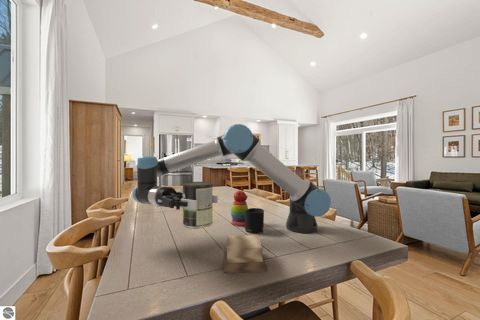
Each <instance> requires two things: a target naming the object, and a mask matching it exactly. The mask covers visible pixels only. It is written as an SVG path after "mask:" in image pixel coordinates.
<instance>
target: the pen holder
mask: <svg viewBox="0 0 480 320" xmlns="http://www.w3.org/2000/svg"><path fill="white" fill-rule="evenodd" d="M264 220H265V210H264V209H263V208H260V207H250V208H248V210H246V211H245V227H244V228H245V232H247V233H249V234H253V235H257V234H261V233H262V232H264Z"/></svg>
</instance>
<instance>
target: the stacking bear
mask: <svg viewBox="0 0 480 320" xmlns="http://www.w3.org/2000/svg"><path fill="white" fill-rule="evenodd" d="M248 198H249V197H248V195H247V194H246V192H244V191H243V190H241V189H239V190H236V191H235V192H234V194H233V199H234V201H233V202H232V205H231V209H230V212H231V213H230V214H231V219H232V220H231V225H233V226H236V227H241V228H243V227H244V228H245V211H246V210H248V209H249V207H248V204H247V201H246V200H248Z"/></svg>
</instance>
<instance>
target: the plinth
mask: <svg viewBox="0 0 480 320" xmlns="http://www.w3.org/2000/svg"><path fill="white" fill-rule="evenodd" d="M226 237H227V239H226V244H227V246H225V247H224V250H223V251H224V253H223V254H224V256H223V273H225V274H227V273H228V274H229V273H256V272H257V273H258V272H259V273H261V272H267V261H266V259H265V256H264V254H263V246H262V243H261V241H260V238H259V235H258V234H253V235H251V234H250V235H248V234H246V235H227V236H226Z"/></svg>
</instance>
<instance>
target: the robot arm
mask: <svg viewBox="0 0 480 320" xmlns="http://www.w3.org/2000/svg"><path fill="white" fill-rule="evenodd" d="M229 155H234V156H236V157H237V158H238V159H239V160H241V161H242V162H249V163H250V165H252V166H253V167H255V168H256V169H257V170H258V171H260V172H261V173H262V174H264V175H265V176H266V177H267V178H269V179H270V180H271V181H272V182H274V183H275V184H276V185H277V186H278V187H280V188H281V189H282V190H283V191H284V192H286V193H287V194H289V212H288V216H287V219H286V223H285V228H286V229H287V230H288V231H291V232H294V233H301V234H312V233H315V232H317V231H318V223H317V219H316V217H317V218H318V217H322V216H324V215H326V214H327V213H328V211H329V210H330V208H331V206H332V200H331V196H330V194H329V193H328V192H327V191H326V190H324V189H323V188H320V187H318V186H317V185H315V183H314V182H312V181H311V180H309V179H302V178H301V177H300V176H299V175H298V174H296V173H295V172H294V171H293V170H291V169H290V168H289V167H288V166H287V165H285V164H284V163H283V162H282V161H280V160H279V159H278V158H277V157H276V156H274V155H273V154H272V153H271V152H270V151H269V150H267V149H266V148H264V147H263V145H261V140H260V139H259V138H258V137H257V136H256V135H254V134H253V132H252V130H251V129H250V128H249V127H248V126H246V125H244V124H241V123H235V124H232V125H230V126H229V127H228V128H227V129H226V130H225V131H224V132H223V134H222V135H220V136H217V137H216V138H215V139H214V140H212V141H208V142H206V143H204V144H200V145H197V146H195V147H192V148H188V149H186V150H182V151H179V152H177V153H174V154H171V155H168V156H166V157H162V158H160V159H158V158H157V157H156V156H153V155H152V156H139V157H138V158H137V161H136V163H137V164H136V174H137V176H136V177H137V185H136V186H135V187H134V188H133V190H132V193H131V196H132V199H133V200H134V202H137V203H140V204H142V205H143V204H144V205H154V206H157V208H158V207H159V208H160V207H164V208H170V209H174V208H175V210H180V209H181V208H182V209H183V208H189V209H195V210H196V209H197V200H189V199H183V192H182V191H177V190H176V189H175V188H173V187H172V186H161V185H158V178H159V177H162V176H164V175H168V174H170V173H172V172H173V173H174V172H176V171H179V170H181V169H184V168H187V167H190V166H193V165H197V164H199V163H201V162H202V163H203V162H204V161H209V160H210V159H213V158H217V157H219V156H221V157H225V156H229ZM218 203H219V195H217V194H212V204H218Z"/></svg>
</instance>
